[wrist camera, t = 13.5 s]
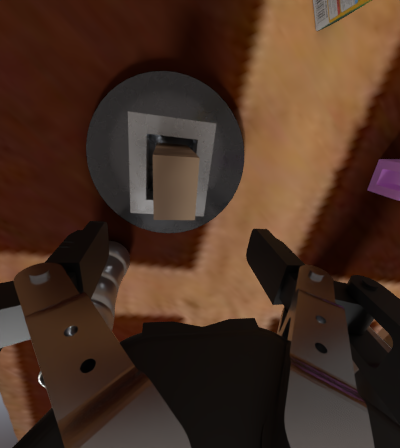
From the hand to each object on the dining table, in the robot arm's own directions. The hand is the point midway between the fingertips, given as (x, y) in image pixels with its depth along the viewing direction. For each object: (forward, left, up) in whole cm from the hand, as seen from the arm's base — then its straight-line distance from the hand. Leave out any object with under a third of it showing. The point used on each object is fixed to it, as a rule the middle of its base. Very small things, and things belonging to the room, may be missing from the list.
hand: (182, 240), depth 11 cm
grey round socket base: (0, 0, -22) cm, 22 cm away
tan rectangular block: (0, 0, -21) cm, 21 cm away
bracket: (-42, -2, -22) cm, 48 cm away
